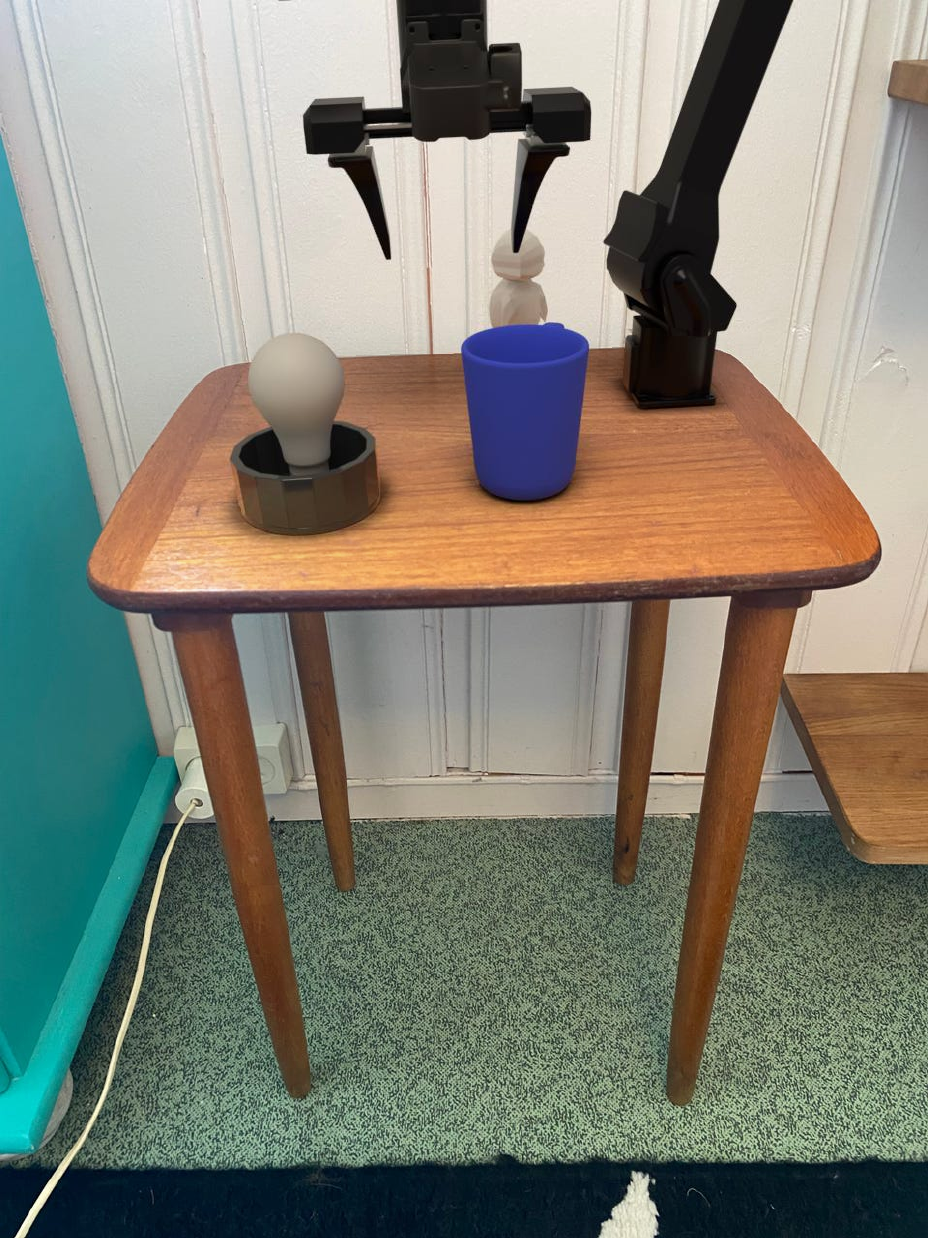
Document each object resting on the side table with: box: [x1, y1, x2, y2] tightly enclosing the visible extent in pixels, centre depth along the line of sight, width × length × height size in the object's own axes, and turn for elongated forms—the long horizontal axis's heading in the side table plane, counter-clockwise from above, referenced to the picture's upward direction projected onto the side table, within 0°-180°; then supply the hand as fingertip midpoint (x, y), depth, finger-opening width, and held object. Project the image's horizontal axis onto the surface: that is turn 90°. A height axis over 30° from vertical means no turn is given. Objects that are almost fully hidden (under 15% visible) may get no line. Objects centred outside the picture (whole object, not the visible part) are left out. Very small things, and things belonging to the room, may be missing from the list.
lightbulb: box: [247, 332, 346, 476], centre depth 60 cm, size 6×6×11 cm
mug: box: [460, 321, 590, 501], centre depth 63 cm, size 8×12×10 cm
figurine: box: [488, 228, 549, 328], centre depth 81 cm, size 8×5×12 cm, turn 146°
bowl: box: [229, 420, 381, 536], centre depth 62 cm, size 10×10×4 cm
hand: (452, 255), depth 66 cm, fingers open, 9 cm apart
